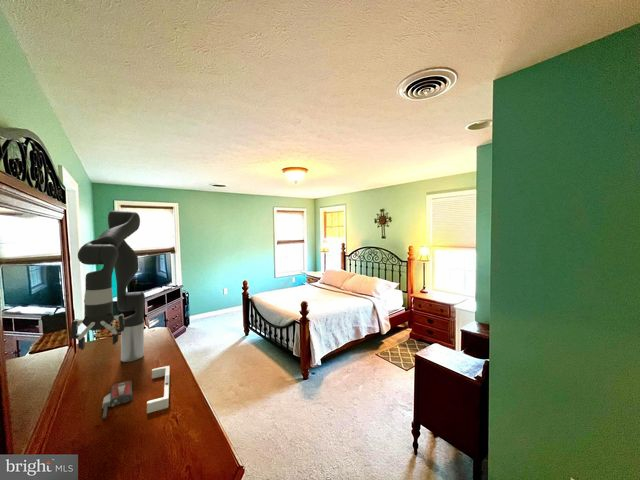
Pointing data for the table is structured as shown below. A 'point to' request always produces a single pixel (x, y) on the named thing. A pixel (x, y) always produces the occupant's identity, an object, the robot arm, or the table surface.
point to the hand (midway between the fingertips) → (98, 346)
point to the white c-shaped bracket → (164, 401)
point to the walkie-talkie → (117, 395)
